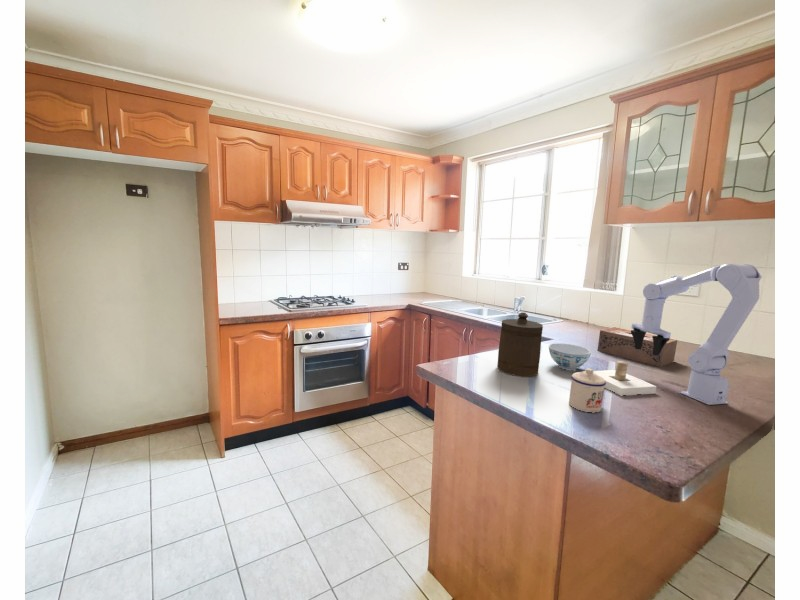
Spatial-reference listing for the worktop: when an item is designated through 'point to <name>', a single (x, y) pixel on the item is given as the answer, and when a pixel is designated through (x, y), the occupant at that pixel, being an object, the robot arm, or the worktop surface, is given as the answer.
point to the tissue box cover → (624, 346)
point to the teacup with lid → (587, 391)
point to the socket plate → (625, 384)
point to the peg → (621, 371)
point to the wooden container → (520, 346)
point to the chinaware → (569, 355)
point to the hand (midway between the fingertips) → (646, 351)
